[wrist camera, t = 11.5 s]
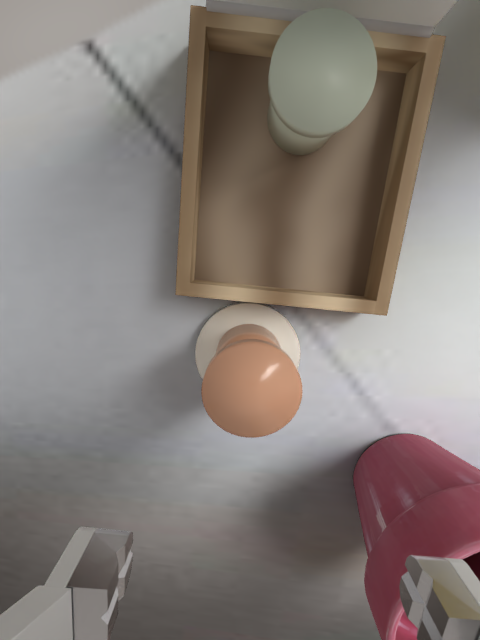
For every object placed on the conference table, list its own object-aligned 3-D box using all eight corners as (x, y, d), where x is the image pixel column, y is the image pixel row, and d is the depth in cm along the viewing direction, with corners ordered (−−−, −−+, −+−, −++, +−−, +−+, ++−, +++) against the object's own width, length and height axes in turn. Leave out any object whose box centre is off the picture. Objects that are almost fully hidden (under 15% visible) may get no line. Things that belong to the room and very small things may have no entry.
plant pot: (409, 554, 32) (516, 746, 20) (298, 496, 31) (339, 665, 18) (503, 452, 30) (695, 600, 17) (386, 381, 28) (505, 489, 16)
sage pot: (347, 76, 22) (387, 14, 16) (334, 165, 23) (366, 137, 17) (266, 67, 22) (276, 1, 16) (257, 156, 23) (263, 125, 17)
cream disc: (305, 307, 26) (307, 309, 26) (291, 403, 28) (292, 408, 28) (200, 297, 26) (198, 298, 25) (193, 394, 28) (191, 399, 27)
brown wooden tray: (418, 63, 22) (445, 36, 19) (370, 308, 26) (386, 315, 24) (197, 37, 22) (190, 5, 19) (182, 289, 26) (175, 294, 23)
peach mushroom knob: (290, 322, 26) (309, 349, 19) (280, 393, 27) (294, 441, 20) (214, 315, 26) (205, 339, 19) (208, 386, 27) (198, 432, 20)
